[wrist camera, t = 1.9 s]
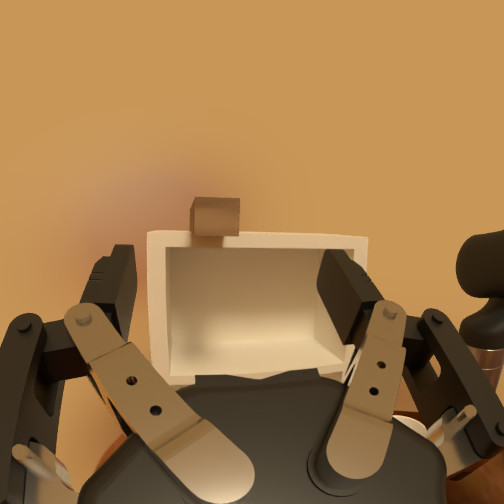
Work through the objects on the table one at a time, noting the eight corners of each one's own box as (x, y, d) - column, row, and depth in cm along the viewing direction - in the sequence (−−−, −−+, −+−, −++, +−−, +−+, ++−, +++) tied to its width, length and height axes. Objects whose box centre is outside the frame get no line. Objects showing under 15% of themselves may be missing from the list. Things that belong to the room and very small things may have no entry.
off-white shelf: (340, 448, 40) (368, 237, 37) (166, 468, 35) (147, 232, 32) (312, 411, 52) (327, 233, 49) (166, 422, 46) (156, 230, 44)
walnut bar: (238, 236, 25) (240, 198, 25) (194, 235, 24) (195, 196, 24) (213, 230, 46) (213, 210, 46) (189, 230, 46) (190, 209, 45)
